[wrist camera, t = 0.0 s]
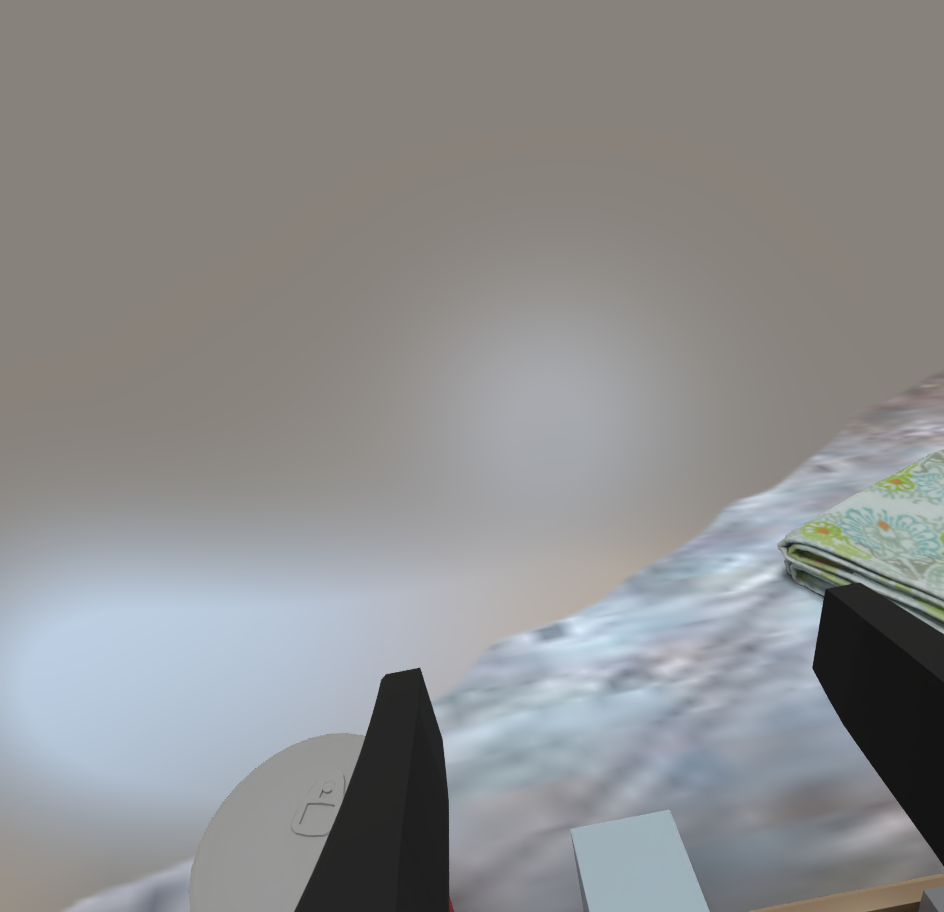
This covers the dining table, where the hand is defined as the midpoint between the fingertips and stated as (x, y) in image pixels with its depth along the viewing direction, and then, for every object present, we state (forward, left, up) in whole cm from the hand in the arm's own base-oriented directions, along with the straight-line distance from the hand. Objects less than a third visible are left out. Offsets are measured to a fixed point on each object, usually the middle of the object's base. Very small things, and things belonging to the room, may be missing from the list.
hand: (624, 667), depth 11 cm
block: (+5, -1, -22) cm, 22 cm away
